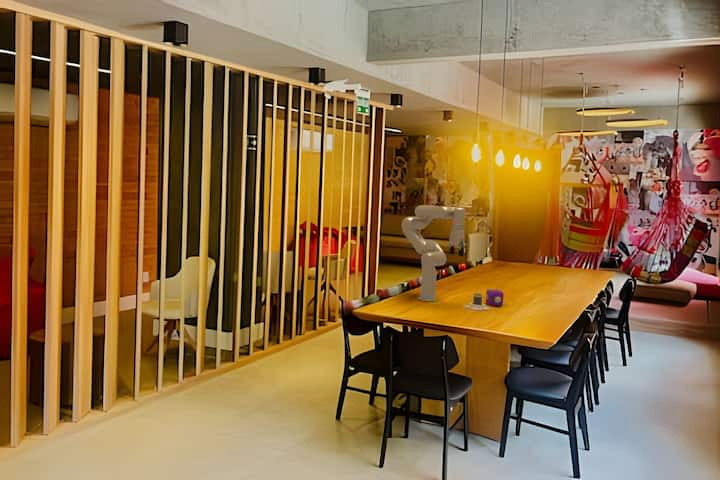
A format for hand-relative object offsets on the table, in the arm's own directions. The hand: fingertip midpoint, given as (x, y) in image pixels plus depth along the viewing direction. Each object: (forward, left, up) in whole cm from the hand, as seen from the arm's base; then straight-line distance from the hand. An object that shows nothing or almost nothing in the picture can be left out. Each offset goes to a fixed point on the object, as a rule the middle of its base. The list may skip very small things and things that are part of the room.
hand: (456, 255), depth 390 cm
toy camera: (+2, +31, -33) cm, 45 cm away
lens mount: (+9, +12, -32) cm, 36 cm away
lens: (+9, +12, -31) cm, 35 cm away
